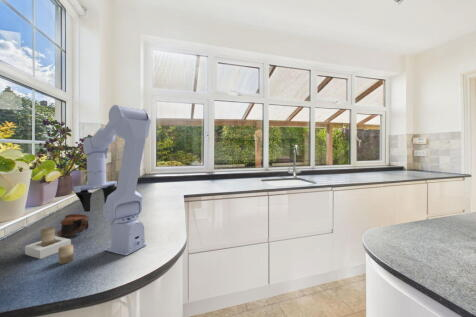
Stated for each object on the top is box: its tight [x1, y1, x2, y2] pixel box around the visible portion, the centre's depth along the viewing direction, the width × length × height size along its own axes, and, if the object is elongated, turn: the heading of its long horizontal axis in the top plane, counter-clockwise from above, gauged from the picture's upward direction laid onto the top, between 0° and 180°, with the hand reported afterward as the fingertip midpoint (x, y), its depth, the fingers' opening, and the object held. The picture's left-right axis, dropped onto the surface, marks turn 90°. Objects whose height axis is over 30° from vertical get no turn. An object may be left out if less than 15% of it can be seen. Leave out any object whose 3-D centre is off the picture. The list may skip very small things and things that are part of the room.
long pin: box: [40, 226, 56, 247], centre depth 66 cm, size 3×3×7 cm
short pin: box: [58, 244, 75, 265], centre depth 59 cm, size 3×3×4 cm
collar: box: [24, 235, 72, 260], centre depth 66 cm, size 8×8×2 cm
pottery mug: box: [57, 213, 89, 238], centre depth 81 cm, size 12×10×8 cm
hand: (97, 208), depth 78 cm, fingers open, 7 cm apart
